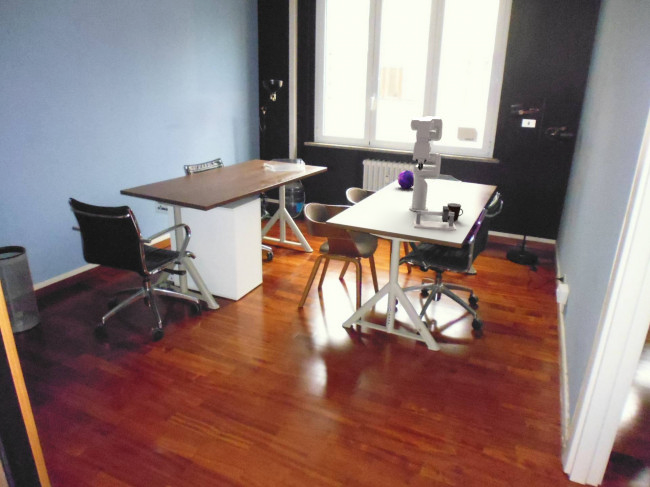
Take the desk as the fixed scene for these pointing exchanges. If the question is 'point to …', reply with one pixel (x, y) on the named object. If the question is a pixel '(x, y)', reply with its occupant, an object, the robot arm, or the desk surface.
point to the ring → (445, 214)
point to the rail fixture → (434, 225)
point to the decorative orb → (406, 179)
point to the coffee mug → (455, 210)
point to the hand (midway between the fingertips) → (420, 169)
